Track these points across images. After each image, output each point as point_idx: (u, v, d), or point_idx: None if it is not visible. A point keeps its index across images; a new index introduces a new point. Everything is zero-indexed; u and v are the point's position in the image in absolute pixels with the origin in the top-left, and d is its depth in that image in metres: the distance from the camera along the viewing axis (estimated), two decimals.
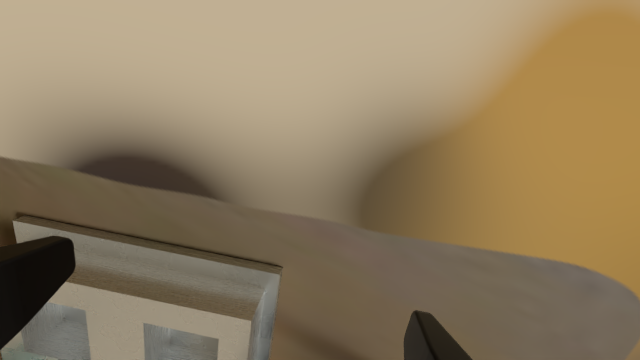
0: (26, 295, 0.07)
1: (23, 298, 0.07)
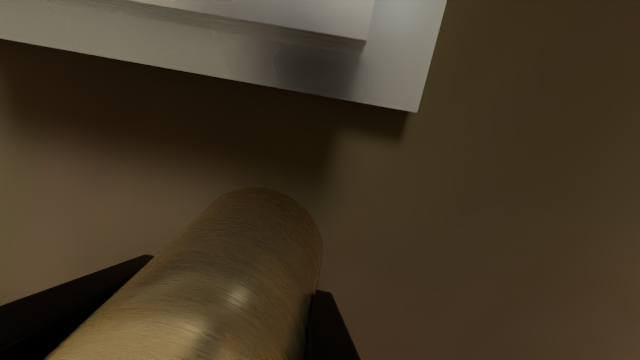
0: None
1: None
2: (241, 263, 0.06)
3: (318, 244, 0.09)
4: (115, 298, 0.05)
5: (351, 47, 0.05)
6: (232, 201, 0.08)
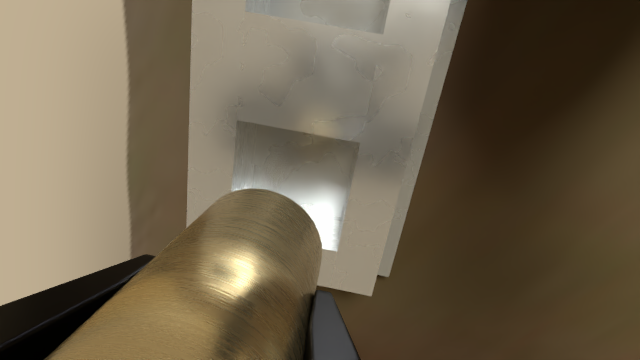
0: None
1: None
2: (241, 265, 0.06)
3: (318, 245, 0.09)
4: (114, 300, 0.05)
5: None
6: (231, 202, 0.08)
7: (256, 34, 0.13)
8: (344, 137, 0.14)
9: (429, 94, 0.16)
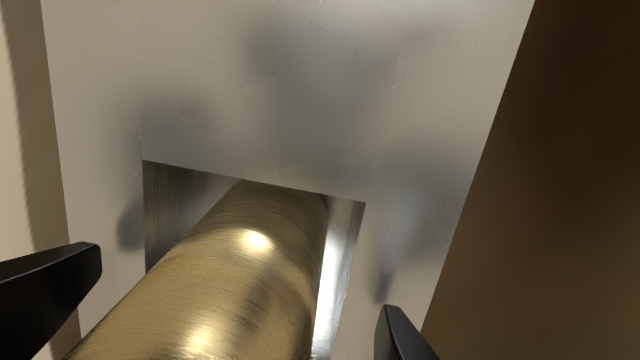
0: (57, 302, 0.07)
1: (55, 305, 0.07)
2: (272, 221, 0.08)
3: (325, 216, 0.11)
4: (182, 243, 0.07)
5: None
6: None
7: None
8: (337, 192, 0.08)
9: None
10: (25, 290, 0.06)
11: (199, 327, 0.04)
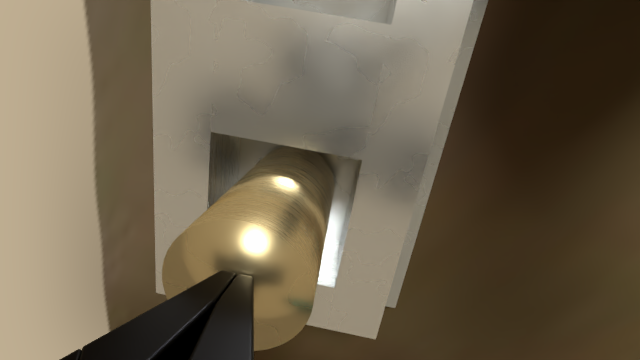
0: None
1: None
2: (296, 172, 0.12)
3: (332, 180, 0.15)
4: (240, 181, 0.11)
5: None
6: (281, 151, 0.14)
7: (231, 25, 0.10)
8: (343, 153, 0.11)
9: (445, 98, 0.14)
10: (201, 328, 0.06)
11: (264, 208, 0.08)
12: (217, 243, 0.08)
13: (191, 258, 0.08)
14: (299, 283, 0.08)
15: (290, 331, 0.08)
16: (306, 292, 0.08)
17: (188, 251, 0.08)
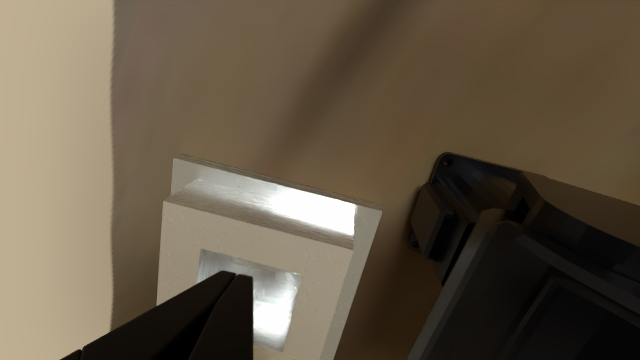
0: None
1: None
2: None
3: None
4: None
5: None
6: None
7: None
8: None
9: (330, 342, 0.22)
10: (201, 328, 0.06)
11: None
12: None
13: None
14: None
15: None
16: None
17: None
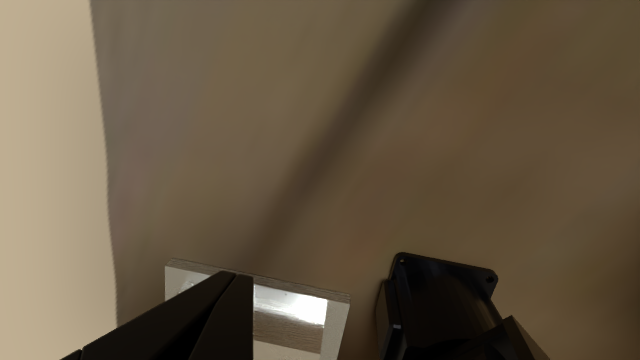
0: None
1: None
2: None
3: None
4: None
5: None
6: None
7: None
8: None
9: None
10: (201, 328, 0.06)
11: None
12: None
13: None
14: None
15: None
16: None
17: None
